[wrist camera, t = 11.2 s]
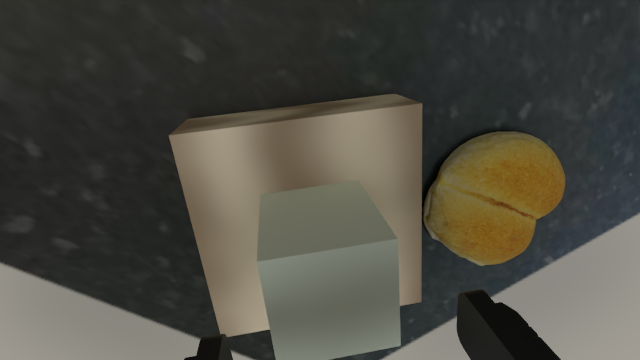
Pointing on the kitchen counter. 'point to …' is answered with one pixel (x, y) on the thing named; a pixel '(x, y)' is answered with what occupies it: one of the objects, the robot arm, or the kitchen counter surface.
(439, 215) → the bread roll
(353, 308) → the sage block
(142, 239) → the kitchen counter surface
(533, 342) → the robot arm
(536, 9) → the kitchen counter surface
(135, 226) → the kitchen counter surface
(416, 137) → the birch plinth
